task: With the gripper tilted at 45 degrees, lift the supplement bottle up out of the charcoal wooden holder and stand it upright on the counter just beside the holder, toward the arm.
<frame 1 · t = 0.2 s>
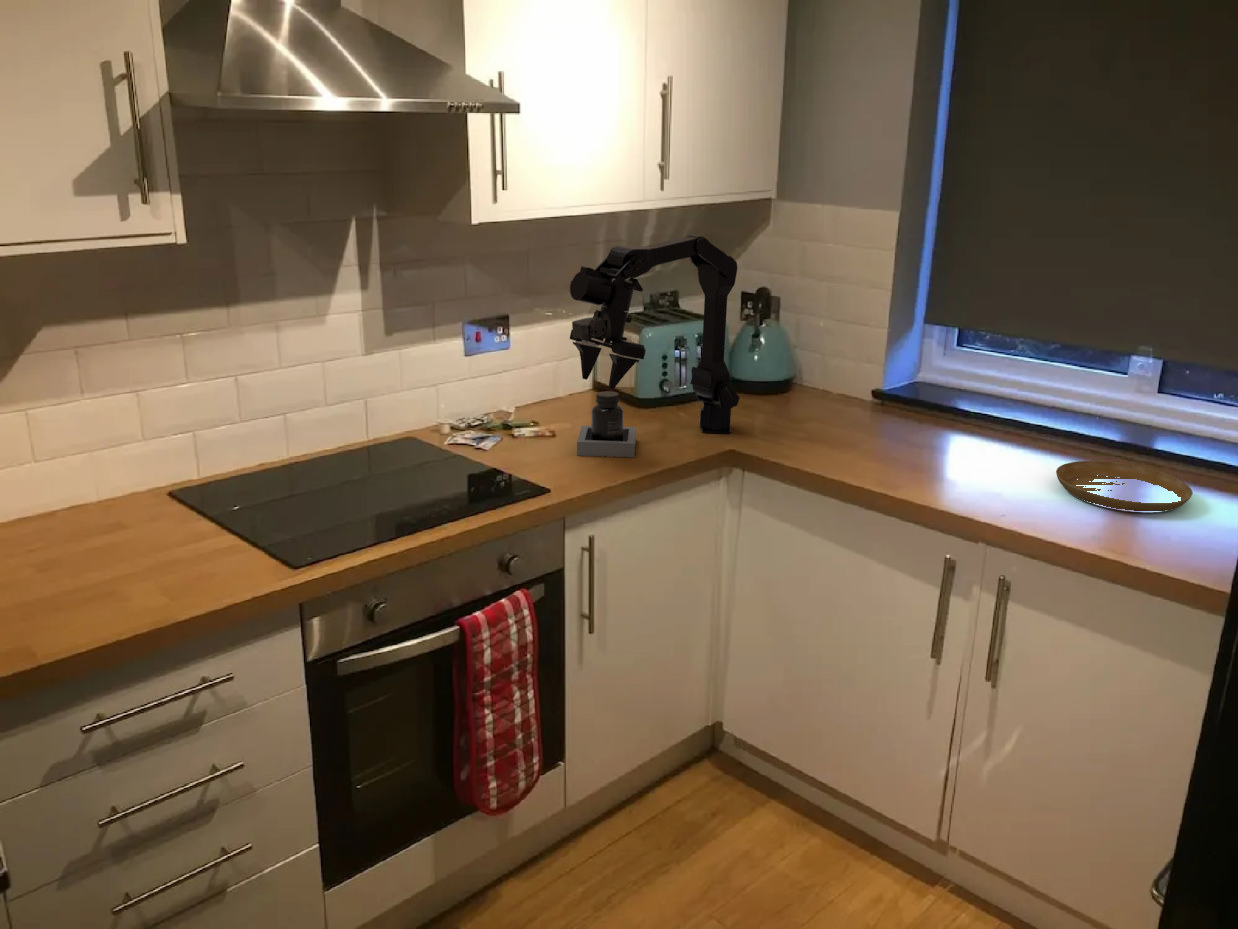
hand: (597, 383, 215), 16 cm above the countertop, tool tilted 15°, fingers open, 9 cm apart
plant saucer: (1119, 497, 204), on the countertop
holder: (607, 447, 225), on the countertop
supplement bottle: (607, 448, 225), resting in holder
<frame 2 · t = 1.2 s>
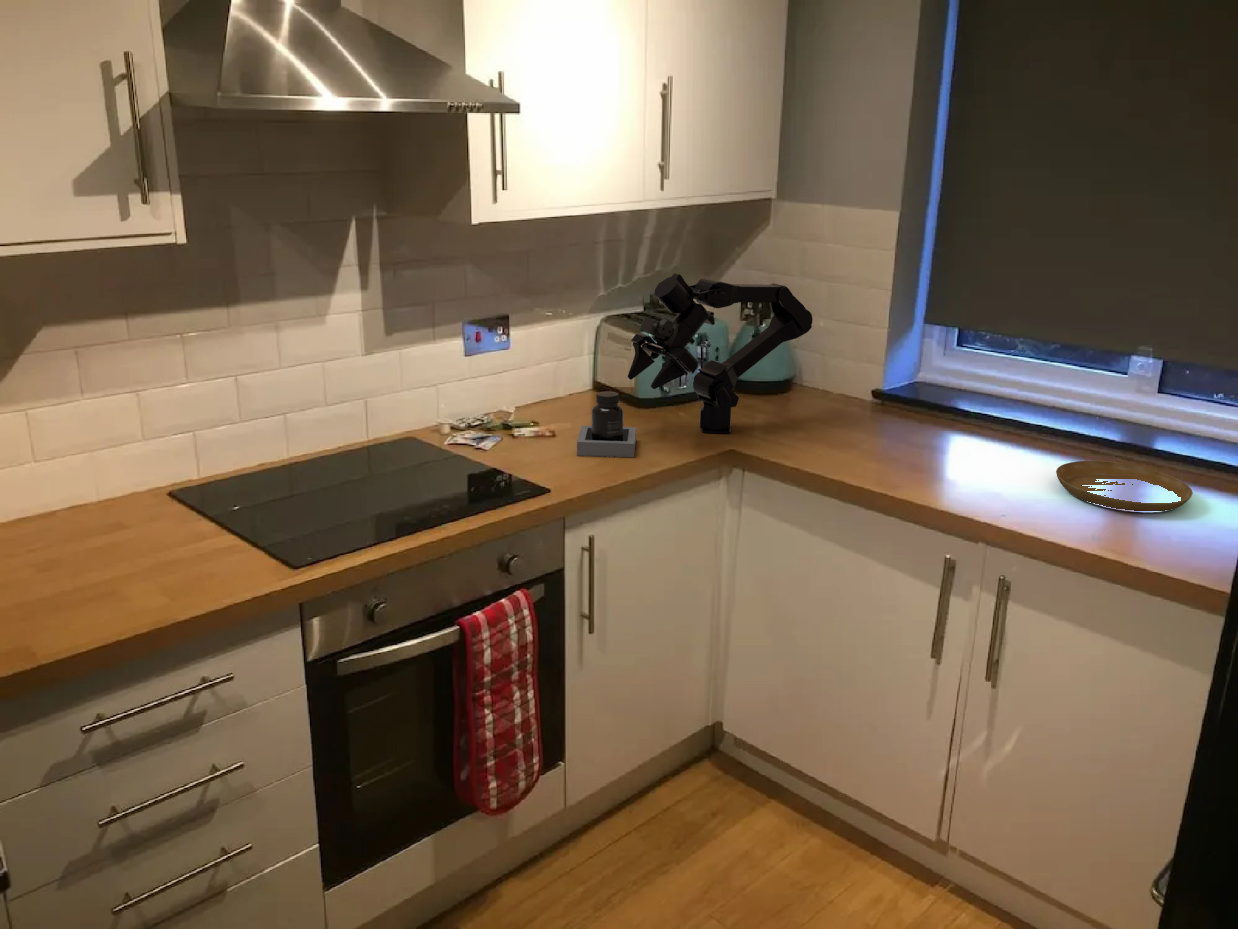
hand: (640, 383, 225), 13 cm above the countertop, tool tilted 45°, fingers open, 9 cm apart
nothing on the countertop moved.
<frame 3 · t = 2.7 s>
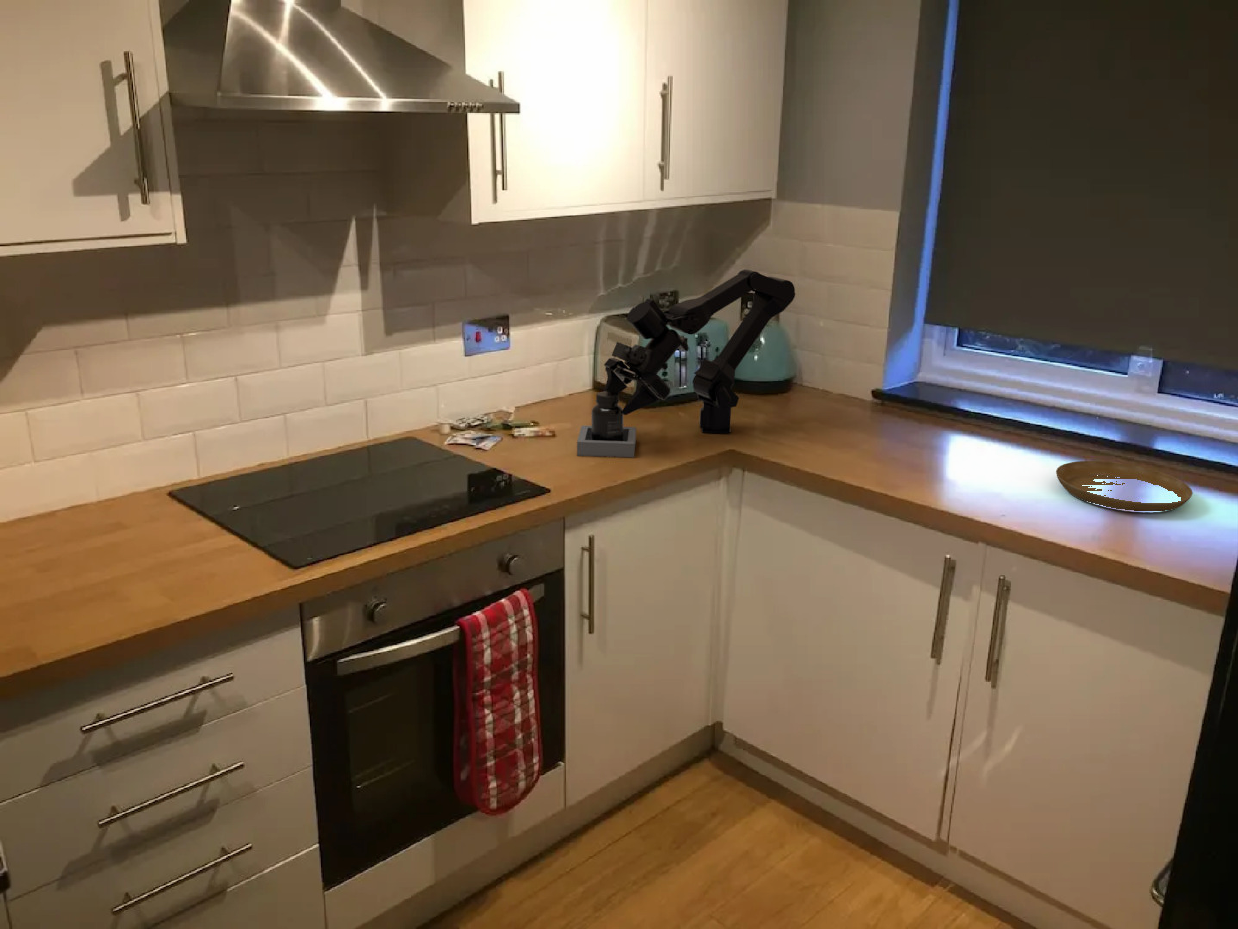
hand: (611, 408, 223), 9 cm above the countertop, tool tilted 45°, fingers open, 9 cm apart
nothing on the countertop moved.
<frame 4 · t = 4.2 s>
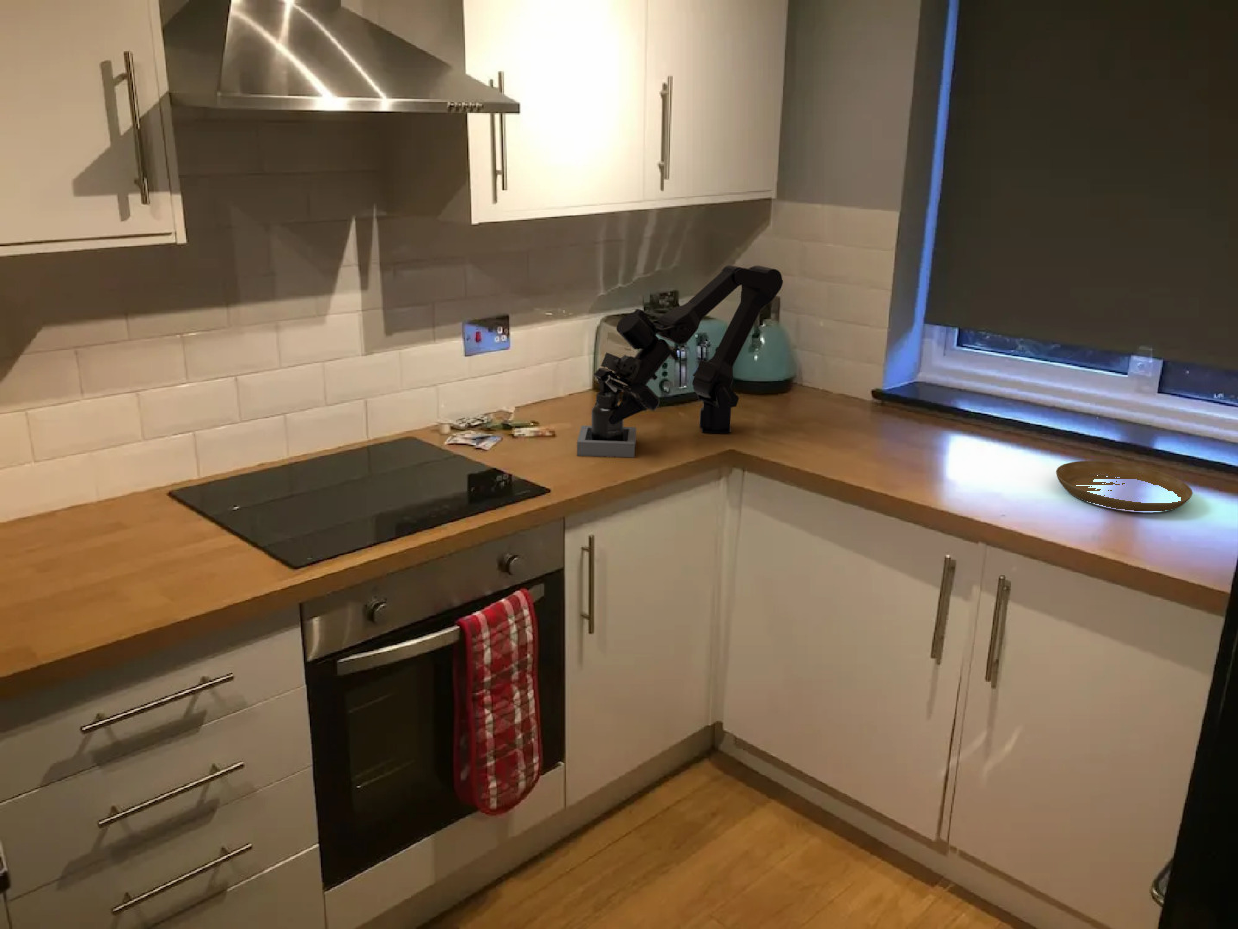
hand: (601, 419, 223), 7 cm above the countertop, tool tilted 45°, fingers closed on supplement bottle, 7 cm apart
supplement bottle: (607, 448, 225), resting in holder, touching gripper
everything else where it was.
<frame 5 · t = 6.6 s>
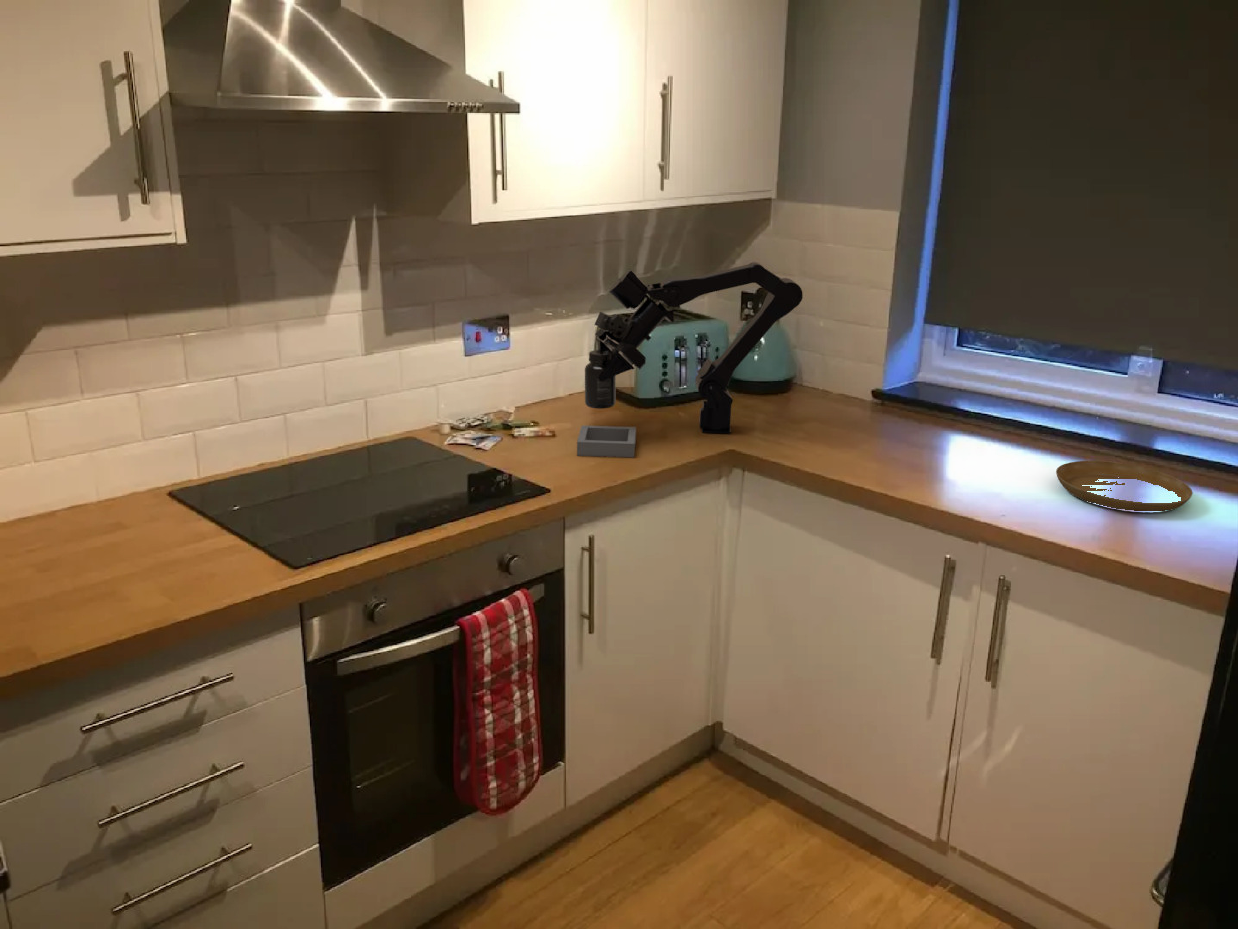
hand: (594, 376, 230), 13 cm above the countertop, tool tilted 45°, fingers closed on supplement bottle, 7 cm apart
supplement bottle: (600, 405, 233), point 6 cm above the countertop, touching gripper
everything else where it was.
when the fingers open (7 cm above the countertop, at t = 9.0 s): supplement bottle stays where it is, on the countertop.
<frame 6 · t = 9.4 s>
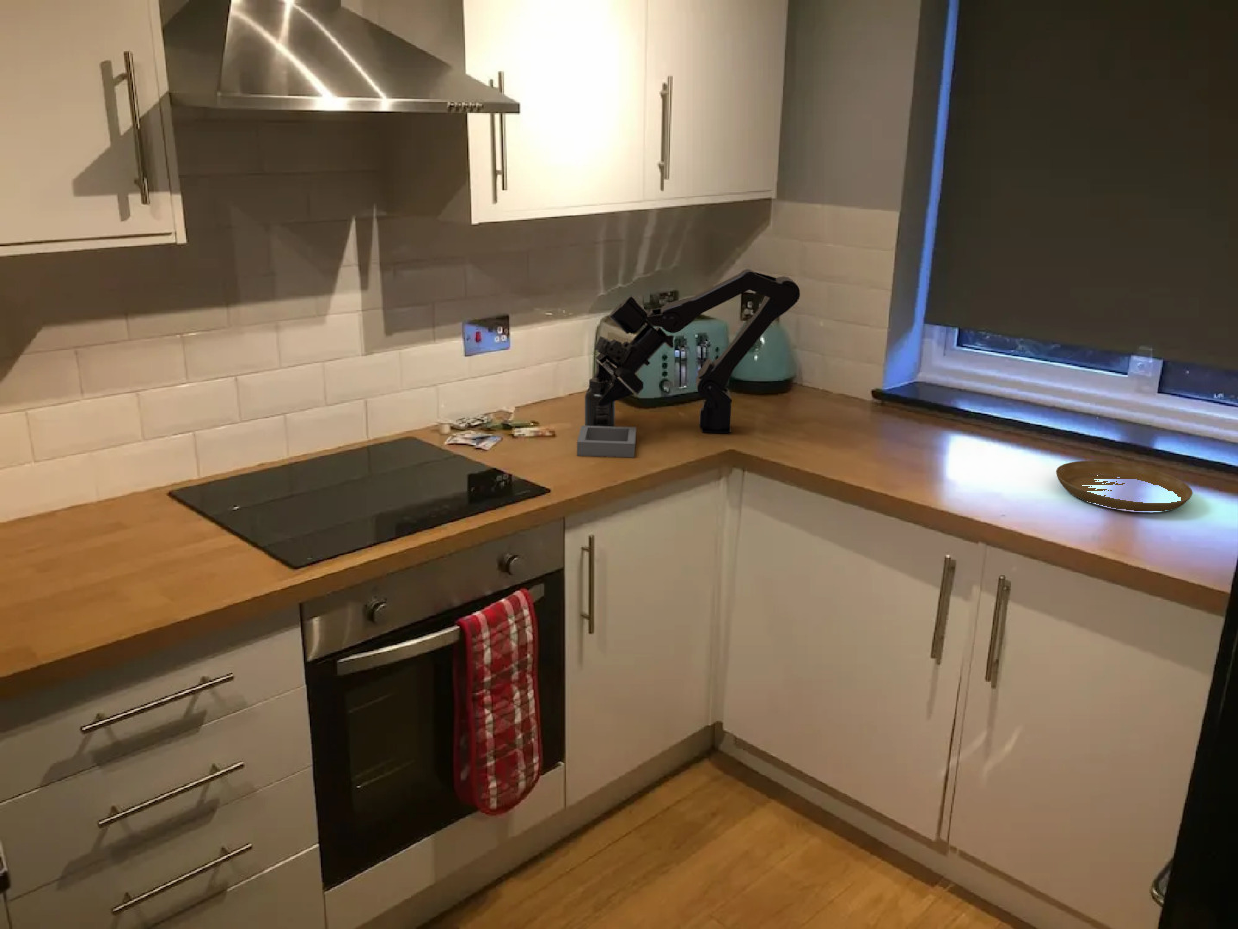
hand: (593, 399, 233), 8 cm above the countertop, tool tilted 45°, fingers open, 9 cm apart
supplement bottle: (599, 432, 237), on the countertop
everything else where it was.
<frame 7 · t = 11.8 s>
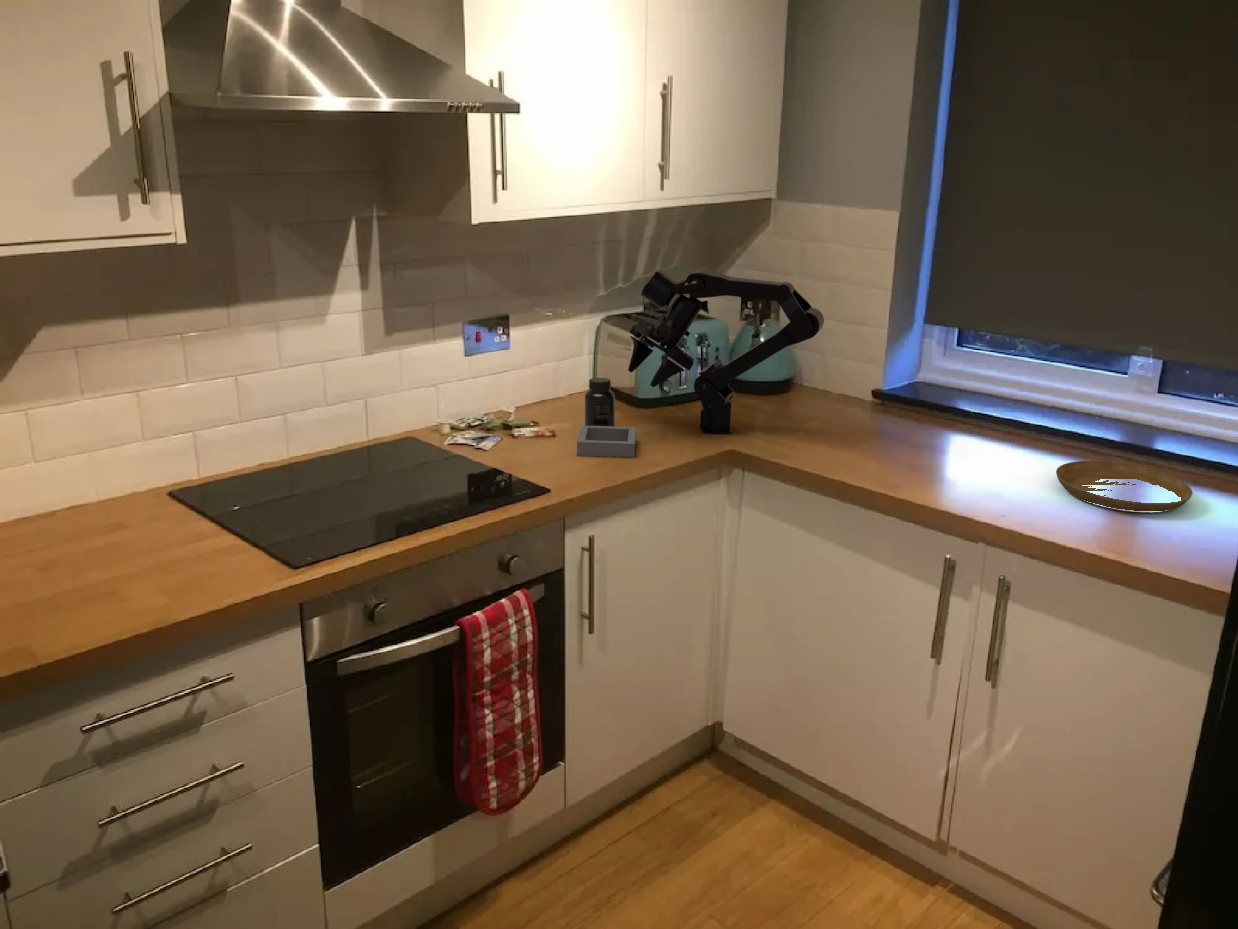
hand: (640, 378, 235), 12 cm above the countertop, tool tilted 35°, fingers open, 9 cm apart
nothing on the countertop moved.
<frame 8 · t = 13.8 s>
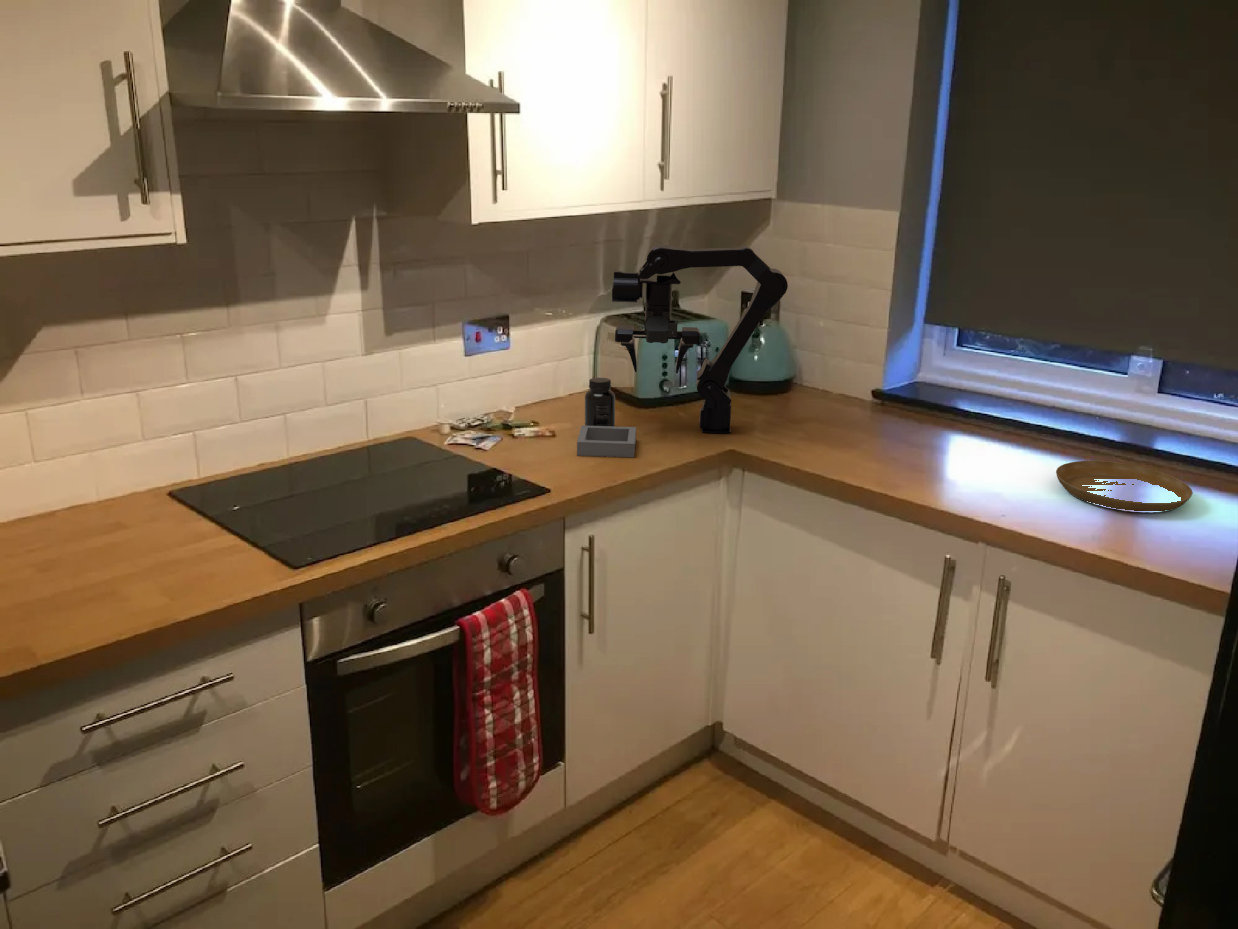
hand: (656, 372, 236), 13 cm above the countertop, tool pointing down, fingers open, 9 cm apart
nothing on the countertop moved.
at the end: supplement bottle inside the target area (0.6 cm from its centre), on the countertop; supplement bottle tilted 0°; supplement bottle touching countertop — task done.
